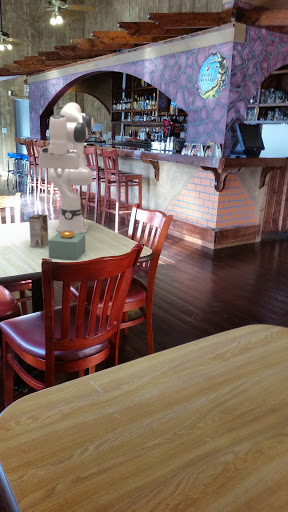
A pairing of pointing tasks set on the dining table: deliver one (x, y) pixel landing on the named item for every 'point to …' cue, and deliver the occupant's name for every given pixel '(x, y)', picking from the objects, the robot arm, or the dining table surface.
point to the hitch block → (66, 247)
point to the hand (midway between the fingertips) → (59, 177)
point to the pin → (67, 234)
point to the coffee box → (38, 230)
